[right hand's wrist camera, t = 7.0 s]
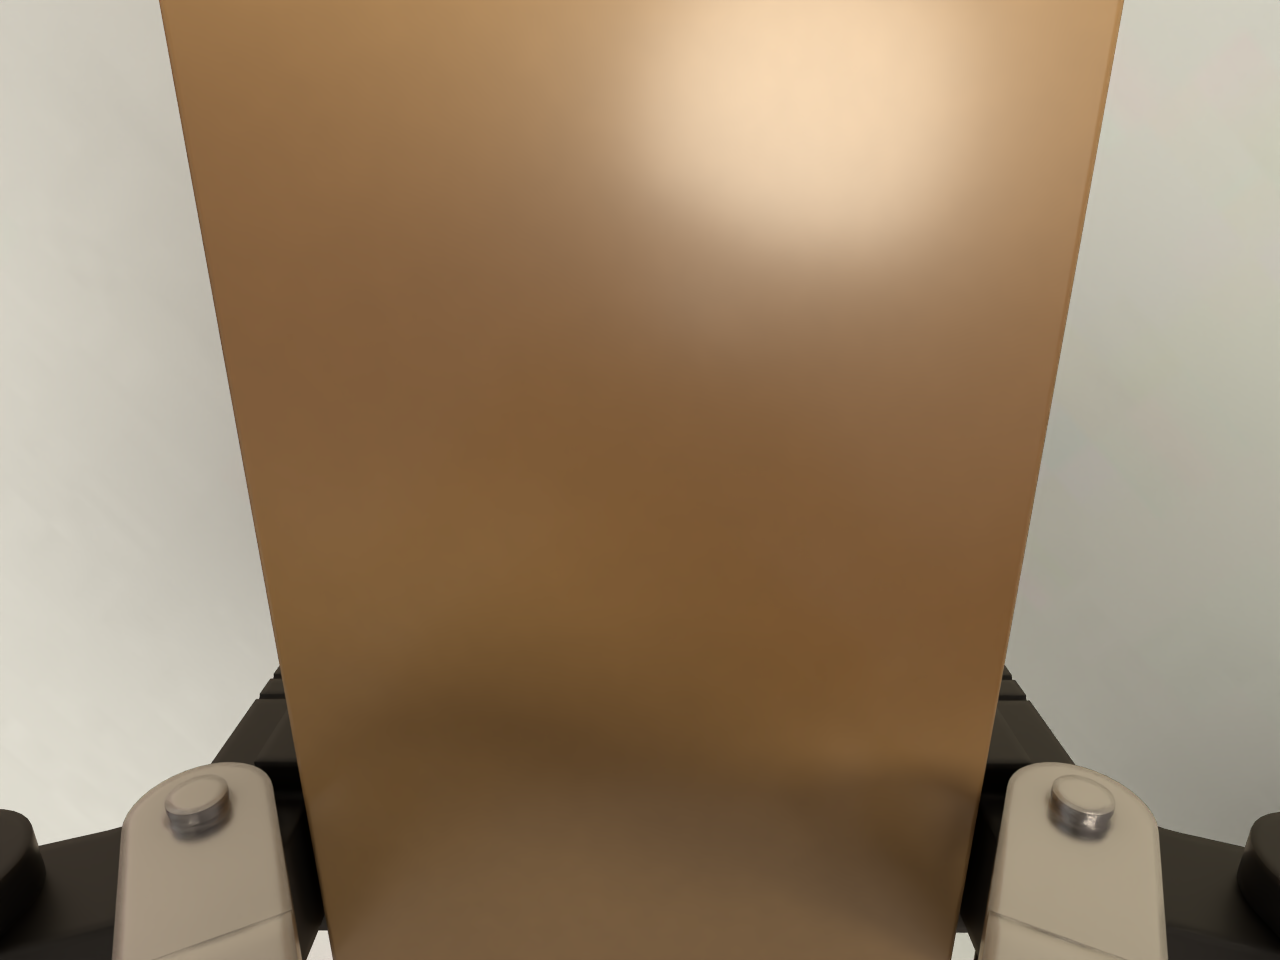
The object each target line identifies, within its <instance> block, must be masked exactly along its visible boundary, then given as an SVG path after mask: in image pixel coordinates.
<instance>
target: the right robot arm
mask: <svg viewBox="0 0 1280 960" xmlns="http://www.w3.org/2000/svg"><path fill="white" fill-rule="evenodd" d="M318 930H328V929H327V923H326V918H325V912H324V907H323V901H322V896H321V890H320V885H319V879H318V874H317V868H316V863H315V857H314V852H313V846H312V841H311V835H310V830H309V824H308V819H307V813H306V808H305V802H304V797H303V791H302V786H301V780H300V774H299V769H298V763H297V758H296V752H295V747H294V741H293V736H292V730H291V725H290V719H289V714H288V708H287V703H286V697H285V692H284V686H283V681H282V675H281V670H280V666H279V667H278V669H277V670H276V671H275V673H274V678H273V679H270V680H269V681H268V683H267V684H266V686H265V687H264V689H263V690H262V691H261V693H260V698H259V699H256V700H255V701H254V703H253V704H252V706H251V707H250V709H249V710H248V711H247V713H246V714H245V716H244V717H243V719H242V720H241V721H240V723H239V724H238V726H237V727H236V729H235V730H234V731H233V733H232V734H231V736H230V737H229V739H228V740H227V741H226V743H225V744H224V746H223V747H222V749H221V750H220V751H219V753H218V754H217V756H216V757H215V759H214V760H213V761H212V763H211V764H208V765H203V766H199V767H196V768H193V769H190V770H187V771H184V772H182V773H179V774H177V775H175V776H172V777H171V778H169V779H167V780H165V781H163V782H161V783H160V784H158V785H157V786H155V787H154V788H152V789H151V790H149V791H148V792H147V793H146V794H145V795H143V796H142V797H141V798H140V799H139V800H138V801H137V802H136V803H135V804H134V805H133V807H132V808H131V810H130V811H129V812H128V814H127V816H126V818H125V820H124V822H123V826H122V827H119V828H115V829H112V830H108V831H103V832H99V833H94V834H90V835H86V836H81V837H77V838H72V839H68V840H63V841H59V842H54V843H50V844H45V845H41V846H38V843H37V840H36V837H35V834H34V831H33V828H32V825H31V823H30V822H29V820H28V819H27V818H26V817H25V816H23V815H22V814H20V813H17V812H15V811H10V810H5V809H0V960H306V959H307V957H308V954H309V952H310V949H311V947H312V945H313V942H314V940H315V937H316V935H317V932H318ZM956 933H968V934H969V936H970V939H971V941H972V943H973V946H974V948H975V955H974V960H1280V812H1277V813H1271V814H1268V815H1265V816H1263V817H1261V818H1259V819H1258V820H1257V821H1255V823H1254V824H1253V826H1252V828H1251V831H1250V834H1249V837H1248V840H1247V843H1246V846H1245V847H1241V846H1236V845H1232V844H1228V843H1223V842H1219V841H1214V840H1210V839H1205V838H1201V837H1196V836H1192V835H1188V834H1183V833H1179V832H1175V831H1171V830H1168V829H1164V828H1161V827H1158V826H1157V822H1156V820H1155V818H1154V816H1153V814H1152V812H1151V811H1150V809H1149V808H1148V807H1147V805H1146V804H1145V803H1144V802H1143V801H1142V800H1141V799H1140V798H1139V797H1138V796H1137V795H1135V794H1134V793H1133V792H1132V791H1131V790H1129V789H1128V788H1126V787H1125V786H1123V785H1122V784H1120V783H1119V782H1117V781H1115V780H1113V779H1111V778H1109V777H1108V776H1105V775H1103V774H1101V773H1098V772H1096V771H1093V770H1090V769H1087V768H1084V767H1081V766H1077V765H1075V764H1074V763H1073V761H1072V760H1071V758H1070V757H1069V755H1068V754H1067V753H1066V751H1065V750H1064V748H1063V747H1062V746H1061V744H1060V743H1059V741H1058V740H1057V739H1056V737H1055V736H1054V734H1053V733H1052V731H1051V730H1050V729H1049V727H1048V726H1047V724H1046V723H1045V722H1044V720H1043V719H1042V717H1041V716H1040V715H1039V713H1038V712H1037V710H1036V709H1035V707H1034V706H1033V705H1032V703H1031V702H1030V701H1027V700H1026V695H1025V693H1024V692H1023V690H1022V689H1021V688H1020V686H1019V685H1018V683H1017V682H1016V681H1015V680H1012V675H1011V674H1010V672H1009V671H1008V669H1007V668H1006V666H1005V665H1004V669H1003V674H1002V680H1001V686H1000V691H999V697H998V702H997V708H996V713H995V719H994V724H993V730H992V735H991V741H990V747H989V752H988V758H987V763H986V769H985V774H984V780H983V785H982V791H981V796H980V802H979V808H978V813H977V819H976V824H975V830H974V835H973V841H972V846H971V852H970V857H969V863H968V869H967V874H966V880H965V885H964V891H963V896H962V902H961V907H960V913H959V918H958V924H957V930H956Z"/></svg>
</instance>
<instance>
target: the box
mask: <svg viewBox="0 0 1280 960" xmlns="http://www.w3.org/2000/svg"><path fill="white" fill-rule="evenodd" d="M159 3H160V8H161V14H162V19H163V25H164V30H165V36H166V41H167V47H168V52H169V58H170V63H171V69H172V74H173V80H174V85H175V91H176V96H177V102H178V107H179V113H180V118H181V124H182V129H183V135H184V140H185V146H186V151H187V157H188V162H189V168H190V173H191V179H192V185H193V190H194V196H195V201H196V207H197V212H198V218H199V223H200V229H201V234H202V240H203V245H204V251H205V256H206V262H207V267H208V273H209V278H210V284H211V289H212V295H213V300H214V306H215V311H216V317H217V322H218V328H219V333H220V339H221V344H222V350H223V355H224V361H225V366H226V372H227V377H228V383H229V389H230V394H231V400H232V405H233V411H234V416H235V422H236V427H237V433H238V438H239V444H240V449H241V455H242V460H243V466H244V471H245V477H246V482H247V488H248V493H249V499H250V504H251V510H252V515H253V521H254V526H255V532H256V537H257V543H258V548H259V554H260V559H261V565H262V570H263V576H264V582H265V587H266V593H267V598H268V604H269V609H270V615H271V620H272V626H273V631H274V637H275V642H276V648H277V653H278V659H279V664H280V670H281V675H282V681H283V686H284V692H285V697H286V703H287V708H288V714H289V719H290V725H291V730H292V736H293V741H294V747H295V752H296V758H297V763H298V769H299V774H300V780H301V786H302V791H303V797H304V802H305V808H306V813H307V819H308V824H309V830H310V835H311V841H312V846H313V852H314V857H315V863H316V868H317V874H318V879H319V885H320V890H321V896H322V901H323V907H324V912H325V918H326V923H327V929H328V934H329V940H330V945H331V951H332V956H333V960H951V957H952V952H953V946H954V941H955V935H956V930H957V924H958V918H959V913H960V907H961V902H962V896H963V891H964V885H965V880H966V874H967V869H968V863H969V857H970V852H971V846H972V841H973V835H974V830H975V824H976V819H977V813H978V808H979V802H980V796H981V791H982V785H983V780H984V774H985V769H986V763H987V758H988V752H989V747H990V741H991V735H992V730H993V724H994V719H995V713H996V708H997V702H998V697H999V691H1000V686H1001V680H1002V674H1003V669H1004V663H1005V658H1006V652H1007V647H1008V641H1009V636H1010V630H1011V625H1012V619H1013V613H1014V608H1015V602H1016V597H1017V591H1018V586H1019V580H1020V575H1021V569H1022V564H1023V558H1024V552H1025V547H1026V541H1027V536H1028V530H1029V525H1030V519H1031V514H1032V508H1033V503H1034V497H1035V491H1036V486H1037V480H1038V475H1039V469H1040V464H1041V458H1042V453H1043V447H1044V442H1045V436H1046V430H1047V425H1048V419H1049V414H1050V408H1051V403H1052V397H1053V392H1054V386H1055V381H1056V375H1057V369H1058V364H1059V358H1060V353H1061V347H1062V342H1063V336H1064V331H1065V325H1066V320H1067V314H1068V308H1069V303H1070V297H1071V292H1072V286H1073V281H1074V275H1075V270H1076V264H1077V259H1078V253H1079V247H1080V242H1081V236H1082V231H1083V225H1084V220H1085V214H1086V209H1087V203H1088V198H1089V192H1090V186H1091V181H1092V175H1093V170H1094V164H1095V159H1096V153H1097V148H1098V142H1099V137H1100V131H1101V125H1102V120H1103V114H1104V109H1105V103H1106V98H1107V92H1108V87H1109V81H1110V76H1111V70H1112V64H1113V59H1114V53H1115V48H1116V42H1117V37H1118V31H1119V26H1120V20H1121V15H1122V9H1123V3H1124V0H159Z"/></svg>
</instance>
